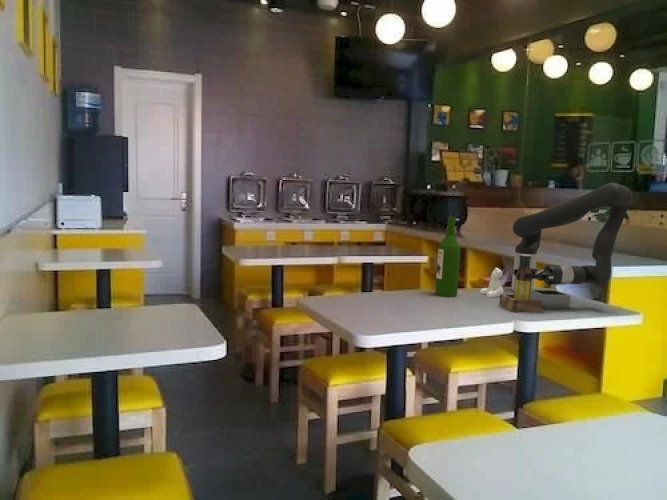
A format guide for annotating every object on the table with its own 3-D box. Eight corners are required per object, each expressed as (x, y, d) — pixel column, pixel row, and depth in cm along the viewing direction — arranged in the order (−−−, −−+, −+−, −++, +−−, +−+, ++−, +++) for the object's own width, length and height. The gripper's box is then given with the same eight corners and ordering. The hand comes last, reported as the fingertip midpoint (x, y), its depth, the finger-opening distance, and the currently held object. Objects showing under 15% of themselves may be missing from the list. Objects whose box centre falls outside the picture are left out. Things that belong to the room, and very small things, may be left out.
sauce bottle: (519, 304, 241) (524, 253, 238) (533, 307, 236) (538, 255, 233) (509, 305, 237) (513, 253, 234) (522, 308, 232) (527, 256, 229)
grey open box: (527, 301, 251) (528, 289, 251) (554, 302, 254) (555, 290, 253) (541, 307, 241) (542, 295, 240) (569, 307, 243) (570, 295, 242)
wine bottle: (431, 293, 260) (436, 215, 256) (450, 292, 263) (455, 216, 259) (441, 297, 252) (447, 217, 248) (461, 296, 255) (467, 218, 251)
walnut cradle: (499, 305, 241) (500, 294, 240) (527, 305, 243) (528, 294, 243) (513, 312, 229) (514, 300, 229) (543, 312, 232) (544, 300, 231)
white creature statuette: (478, 293, 266) (481, 265, 264) (497, 293, 267) (500, 266, 266) (487, 297, 256) (490, 269, 255) (507, 298, 258) (509, 269, 256)
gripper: (549, 262, 244) (511, 261, 241) (569, 267, 230) (529, 267, 227) (547, 281, 245) (509, 280, 242) (567, 287, 231) (527, 287, 228)
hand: (519, 273), depth 234 cm, fingers open, 8 cm apart
